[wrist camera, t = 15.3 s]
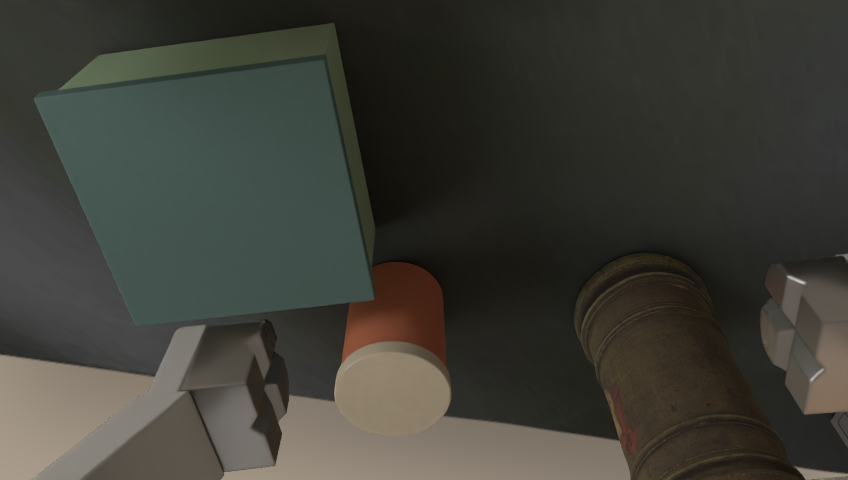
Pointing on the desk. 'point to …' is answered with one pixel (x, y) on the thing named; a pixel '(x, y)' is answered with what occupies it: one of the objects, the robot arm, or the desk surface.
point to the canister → (395, 355)
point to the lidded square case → (220, 174)
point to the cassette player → (841, 425)
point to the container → (673, 376)
